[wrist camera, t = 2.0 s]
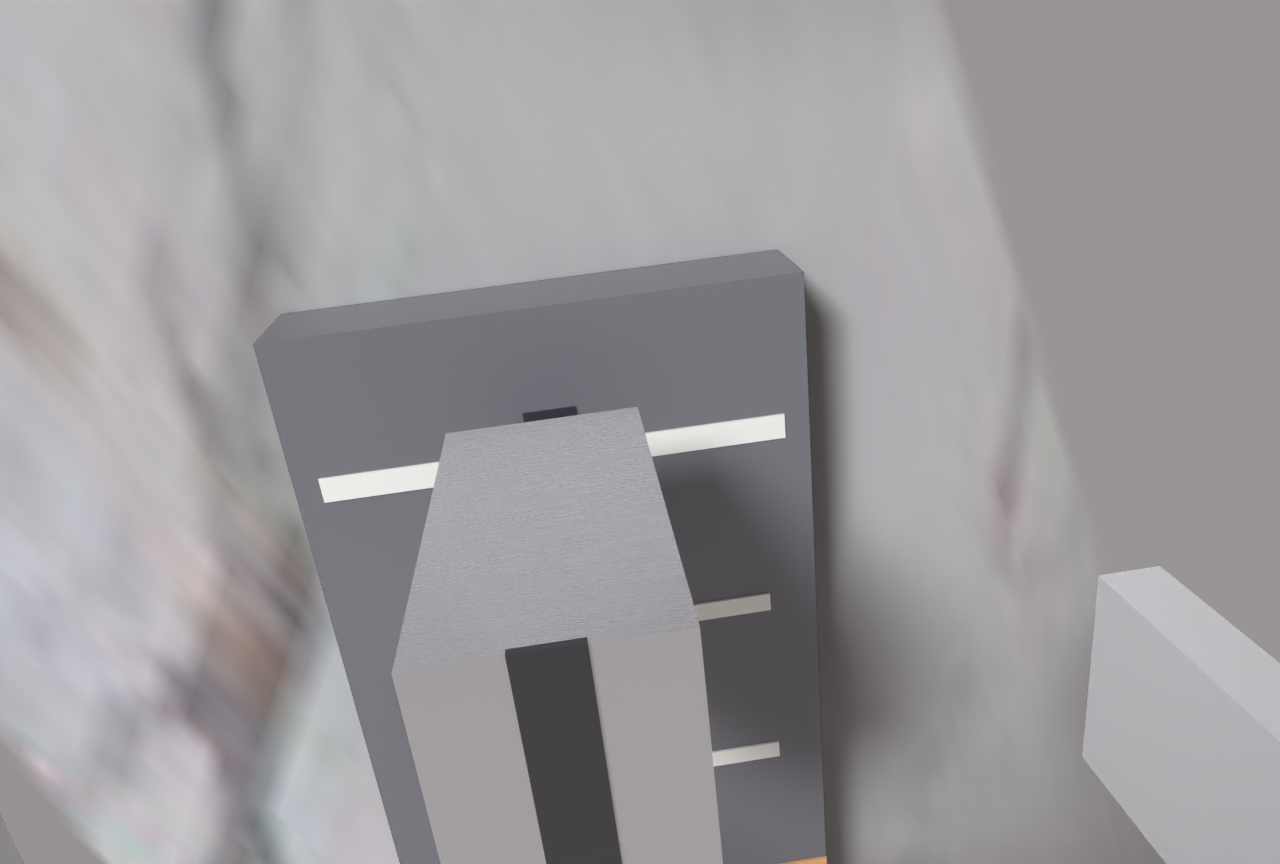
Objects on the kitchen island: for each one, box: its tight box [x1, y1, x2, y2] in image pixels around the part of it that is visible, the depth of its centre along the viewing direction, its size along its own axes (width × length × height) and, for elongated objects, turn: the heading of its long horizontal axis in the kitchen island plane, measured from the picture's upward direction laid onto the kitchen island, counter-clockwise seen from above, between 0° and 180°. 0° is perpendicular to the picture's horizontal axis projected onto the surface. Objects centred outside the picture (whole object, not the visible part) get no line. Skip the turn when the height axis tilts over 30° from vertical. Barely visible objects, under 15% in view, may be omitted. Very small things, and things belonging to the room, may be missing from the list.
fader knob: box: [391, 407, 723, 864], centre depth 14 cm, size 4×3×9 cm
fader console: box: [253, 250, 827, 864], centre depth 22 cm, size 22×10×2 cm, turn 6°
